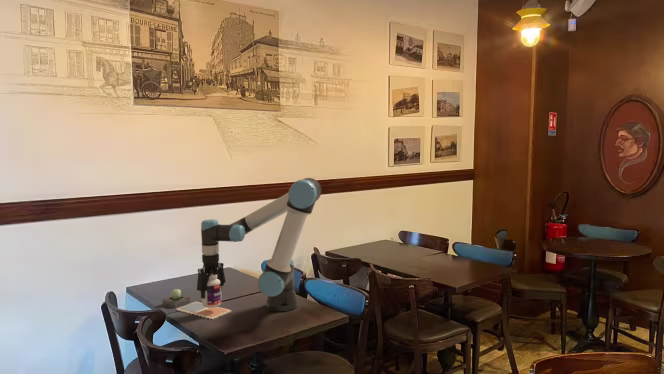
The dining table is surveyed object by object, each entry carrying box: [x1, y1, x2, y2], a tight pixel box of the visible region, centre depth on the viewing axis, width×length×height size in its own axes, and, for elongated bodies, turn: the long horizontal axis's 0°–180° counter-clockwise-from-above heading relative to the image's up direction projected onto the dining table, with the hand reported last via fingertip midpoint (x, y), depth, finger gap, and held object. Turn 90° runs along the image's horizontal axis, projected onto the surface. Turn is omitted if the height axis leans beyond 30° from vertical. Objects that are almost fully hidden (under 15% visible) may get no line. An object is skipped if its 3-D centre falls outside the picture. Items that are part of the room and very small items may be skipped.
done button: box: [170, 288, 182, 300], centre depth 233 cm, size 4×4×4 cm
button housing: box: [162, 294, 191, 309], centre depth 233 cm, size 9×9×3 cm
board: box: [175, 301, 232, 320], centre depth 223 cm, size 24×12×1 cm, turn 58°
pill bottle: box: [203, 273, 222, 308], centre depth 219 cm, size 8×8×14 cm
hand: (212, 301), depth 219 cm, fingers closed on pill bottle, 8 cm apart
